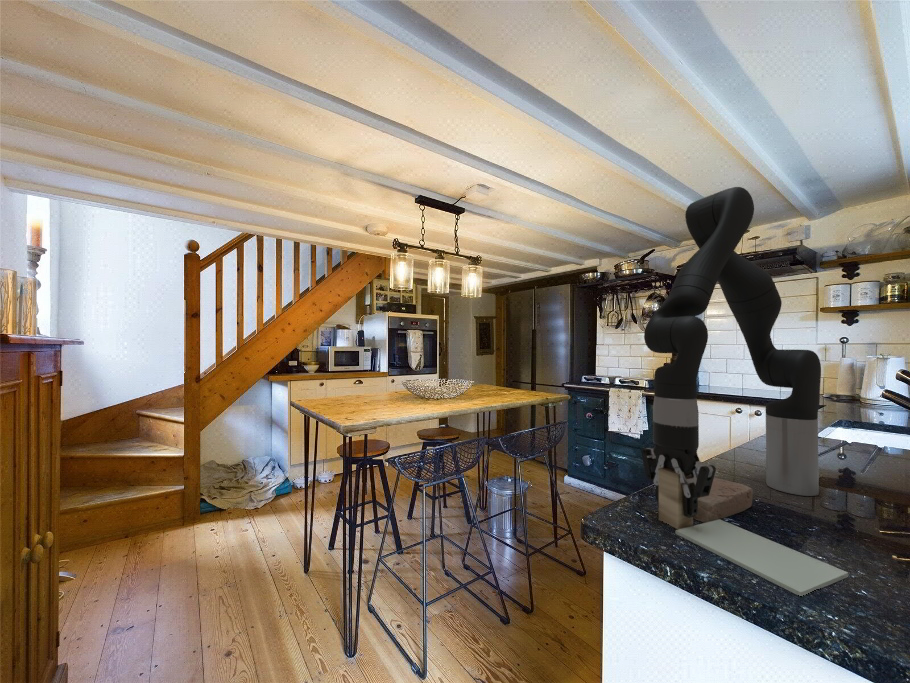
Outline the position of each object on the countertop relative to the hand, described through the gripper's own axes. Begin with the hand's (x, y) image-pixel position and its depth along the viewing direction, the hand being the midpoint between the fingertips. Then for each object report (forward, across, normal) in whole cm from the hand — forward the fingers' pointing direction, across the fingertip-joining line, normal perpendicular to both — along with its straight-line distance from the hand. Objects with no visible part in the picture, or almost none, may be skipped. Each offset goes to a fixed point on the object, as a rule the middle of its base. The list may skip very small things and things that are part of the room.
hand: (675, 509), depth 70 cm
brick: (+3, +2, -13) cm, 14 cm away
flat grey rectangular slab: (+2, -12, -2) cm, 12 cm away
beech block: (+2, 0, 0) cm, 2 cm away
